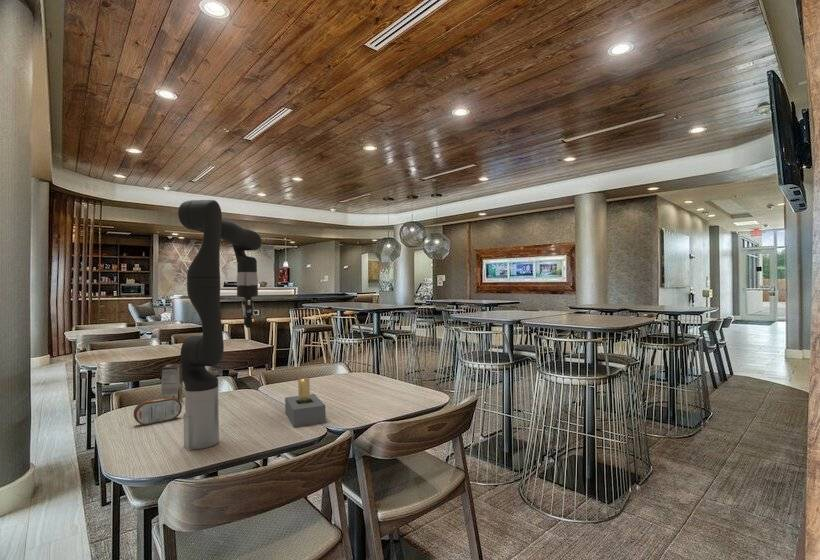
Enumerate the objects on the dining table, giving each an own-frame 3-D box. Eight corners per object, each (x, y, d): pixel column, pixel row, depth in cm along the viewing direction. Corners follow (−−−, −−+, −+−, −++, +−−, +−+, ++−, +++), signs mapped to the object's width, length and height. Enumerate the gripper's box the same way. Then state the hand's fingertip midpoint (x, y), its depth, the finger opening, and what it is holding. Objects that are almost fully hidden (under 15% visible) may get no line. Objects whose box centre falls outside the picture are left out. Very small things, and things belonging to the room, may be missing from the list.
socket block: (325, 422, 148) (325, 405, 148) (293, 427, 143) (293, 409, 143) (314, 409, 164) (314, 393, 164) (285, 413, 159) (285, 397, 159)
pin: (302, 414, 151) (301, 381, 151) (297, 412, 154) (296, 379, 154) (312, 412, 153) (311, 379, 153) (307, 409, 156) (306, 377, 157)
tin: (181, 416, 158) (180, 394, 158) (182, 418, 156) (182, 396, 156) (133, 425, 149) (133, 402, 149) (134, 428, 146) (134, 403, 146)
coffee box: (166, 401, 180) (166, 364, 180) (183, 400, 181) (182, 362, 182) (160, 407, 171) (160, 367, 171) (178, 405, 173) (178, 366, 173)
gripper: (235, 284, 166) (236, 325, 166) (237, 284, 153) (238, 328, 153) (256, 284, 169) (256, 324, 169) (259, 283, 156) (260, 327, 156)
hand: (248, 326), depth 161 cm, fingers open, 8 cm apart
